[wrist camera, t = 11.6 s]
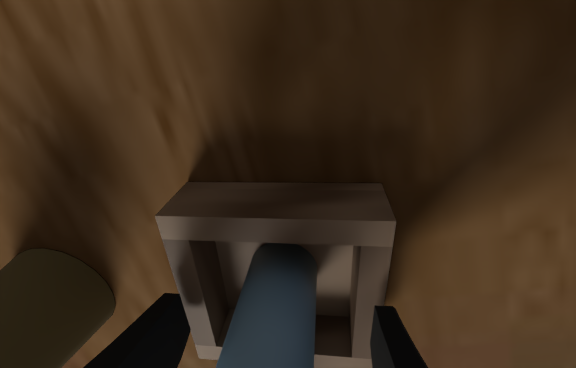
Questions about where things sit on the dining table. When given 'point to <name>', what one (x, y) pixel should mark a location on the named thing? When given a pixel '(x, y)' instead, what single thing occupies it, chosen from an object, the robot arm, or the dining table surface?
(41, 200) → the dining table surface
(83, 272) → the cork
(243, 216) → the stylus holder
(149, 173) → the dining table surface
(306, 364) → the blue rounded cylinder
